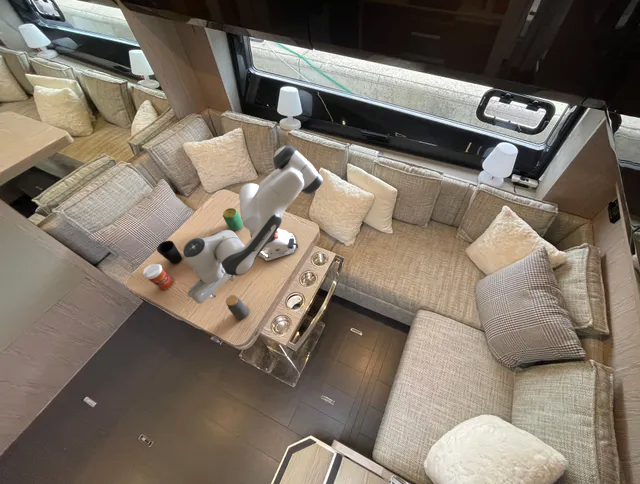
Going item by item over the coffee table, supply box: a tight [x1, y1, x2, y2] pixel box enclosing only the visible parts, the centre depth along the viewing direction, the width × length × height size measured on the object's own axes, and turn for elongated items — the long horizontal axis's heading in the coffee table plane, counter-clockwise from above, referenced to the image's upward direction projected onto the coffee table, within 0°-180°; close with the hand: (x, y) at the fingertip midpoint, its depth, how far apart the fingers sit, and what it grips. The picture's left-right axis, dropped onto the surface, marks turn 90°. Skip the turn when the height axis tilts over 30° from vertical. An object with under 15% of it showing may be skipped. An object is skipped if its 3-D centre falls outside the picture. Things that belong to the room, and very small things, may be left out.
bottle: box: [225, 294, 249, 320], centre depth 123 cm, size 6×6×15 cm
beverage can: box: [222, 207, 244, 232], centre depth 157 cm, size 8×8×12 cm
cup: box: [156, 240, 183, 265], centre depth 141 cm, size 8×8×12 cm
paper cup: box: [142, 263, 173, 290], centre depth 131 cm, size 8×8×14 cm
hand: (223, 287), depth 112 cm, fingers open, 8 cm apart
